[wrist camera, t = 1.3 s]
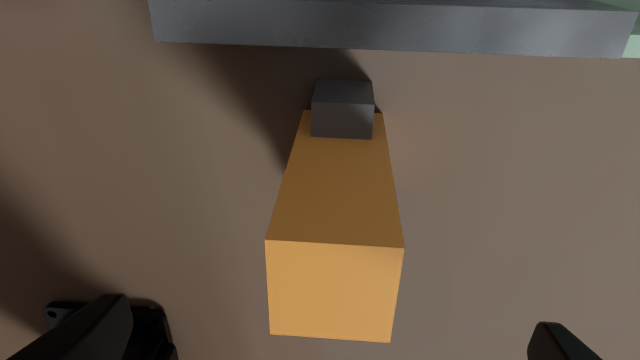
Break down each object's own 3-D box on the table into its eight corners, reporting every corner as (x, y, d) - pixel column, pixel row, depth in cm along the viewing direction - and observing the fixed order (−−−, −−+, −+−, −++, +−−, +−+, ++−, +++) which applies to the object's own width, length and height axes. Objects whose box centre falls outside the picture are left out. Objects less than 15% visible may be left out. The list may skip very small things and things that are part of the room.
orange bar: (303, 201, 18) (272, 364, 11) (303, 78, 15) (261, 192, 8) (373, 205, 18) (385, 373, 11) (385, 82, 15) (411, 201, 8)
